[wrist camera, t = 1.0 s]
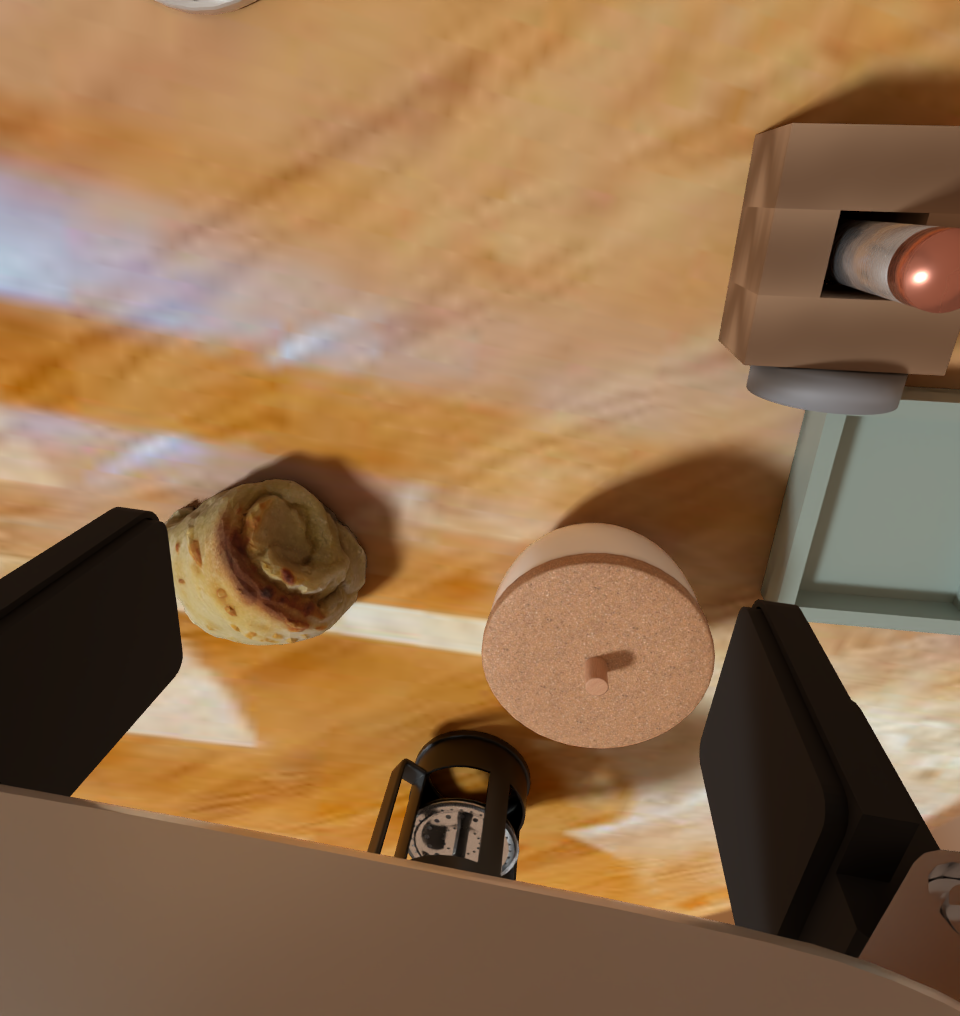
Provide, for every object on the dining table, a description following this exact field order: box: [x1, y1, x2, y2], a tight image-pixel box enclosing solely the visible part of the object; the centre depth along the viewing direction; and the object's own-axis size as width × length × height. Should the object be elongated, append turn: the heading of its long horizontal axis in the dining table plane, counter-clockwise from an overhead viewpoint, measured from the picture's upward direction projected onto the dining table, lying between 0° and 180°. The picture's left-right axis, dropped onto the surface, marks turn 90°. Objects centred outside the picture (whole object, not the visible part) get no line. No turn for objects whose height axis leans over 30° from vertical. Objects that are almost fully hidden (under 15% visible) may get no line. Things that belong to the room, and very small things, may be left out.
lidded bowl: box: [482, 523, 715, 749], centre depth 39 cm, size 13×13×11 cm
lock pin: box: [824, 218, 960, 313], centre depth 29 cm, size 3×3×12 cm
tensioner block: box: [719, 123, 960, 415], centre depth 31 cm, size 12×9×8 cm
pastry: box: [164, 479, 367, 645], centre depth 43 cm, size 14×12×8 cm
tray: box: [761, 386, 960, 635], centre depth 38 cm, size 14×12×3 cm
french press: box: [367, 731, 530, 881], centre depth 43 cm, size 12×9×23 cm
